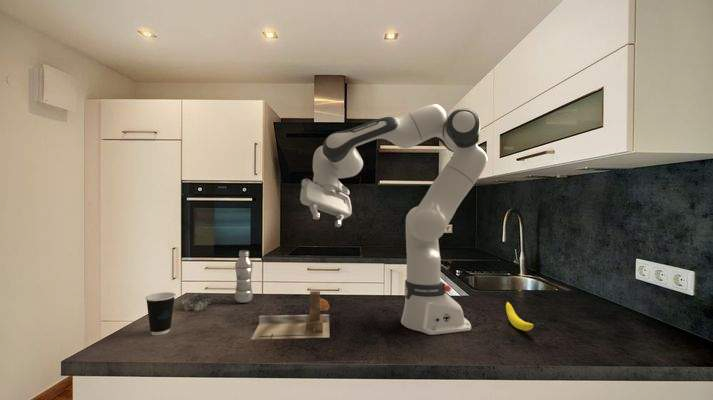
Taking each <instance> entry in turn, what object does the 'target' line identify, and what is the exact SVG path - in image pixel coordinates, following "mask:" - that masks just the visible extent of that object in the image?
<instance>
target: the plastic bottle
mask: <svg viewBox="0 0 713 400" xmlns="http://www.w3.org/2000/svg"><path fill="white" fill-rule="evenodd" d="M238 256H239V258H238V259H237V261H236V262H235V265H234V266H235V267H234V268H235V274H236V287H235V292H234V293H235V294H234V298H235V299H234V300H235V301H236V303H239V304H241V303H243V304H245V303H250V302H251V301H252V299H253V289H252V272H253V265H254V264H253V261H252V260H251V258H250V257H249V256H250V251H249V250H246V249H245V250H239V253H238Z"/></svg>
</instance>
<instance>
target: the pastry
mask: <svg viewBox="0 0 713 400" xmlns="http://www.w3.org/2000/svg"><path fill="white" fill-rule="evenodd" d="M329 309H330V304H329V302H328V300H327V299H324V298H321V297H320V312H326V311H328V310H329Z"/></svg>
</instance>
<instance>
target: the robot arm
mask: <svg viewBox="0 0 713 400" xmlns="http://www.w3.org/2000/svg"><path fill="white" fill-rule="evenodd" d="M446 112H447V111H445V109H444V108H443V107H442V106H441V105H439V104H437V103H432V104H429V105H425V106H422V107H420V108H417V109H414V110H412V111H410V112H408V113H406V114H404V115H401V116H395V117H392V116H385V117H380V118H378V119H374V120H372V121H369V122H365V123H364V124H361V125H358V126H355V127H352V128H350V129H345V130H339V131H336V132H333V133H331V134H328V136H327V137H326V138H325V139H324V142H323V144H322V145H320V146H318V148H316V150H315V151H314V154H313V158H312V172H313V177H312V180H311V179H309V178H308V177H307V178H303V179H302V180H301V189H300V197H299V201H300V203H301V204H302V205H304V206H307V207H309V211H310V212H311V214H312V219H313V220H316V221H317V220H320V218H321V213H320V212H318V210H319V211H321V212H324V213H327V214H329V215H332V216H335V217H336V219H337V220H336V221H334V226H335V227H337V228H340V227H342V223H343V222H342V221H343V220H345V219H347V218H349V217H351V215H352V214H353V212H352V209H353V208H352V203H351V202H352V201H351V198H350V197H349V195H350V190H349V189H348V188H347V187H346V186H344V184H343V183H341V181H340V180H339V179H348V178H352V177H355V176H357V175H359V173H361V171H362V170H363V167H364V159H362V156H361V154H360V153H359V151H358V149H357V148H356V147H358V146H362V145H364V144H366V143H370V142H372V141H375V140H377V139H378V140H379V139H381V140H382V139H383V140H387V141H388V142H390V143H392V145H393V144H394V145H395V146H396V147H398V148H401V149H409V148H413V147H416V146H417V145H420V144H422V143H424V142H425V141H429V140H430V139H432V138H437V140H438V141H439V142H440V144H442V145H443V147H445V148H446V149H447V150H448V151H450V152H452V155H451V158H450V159H449V160H448V162H447V163H446V165H445V166H444V167H443V169H441V171H440V173H438V175H437V177H436V178H435V179H434V181H433V182H432V184H431V185H430V187H429V189H428V190H427V192H426V194H425V195H424V197H423V198H422V200H421V201H420V203H419V204H418V205H417V206H414V207H413V208H411V209H410V210H409V211H408V213H407V214H406V218H405V243H406V244H405V248H406V279H405V281H404V297H405V301H404V305H403V306H404V307H403V313H402V316H401V320H400V323H401V325H403V326H404V327H405V328H408V329H410V330H413V331H417V332H421V333H424V334H427V335H432V336H433V335H441V334H451V333H459V332H468V331H471V330H472V324H471V323H470V321H469V320H468V319H467V318H465V317H464V311H463V309H462V305H460V304H459V303H458V302H457V301H456V300H455V299H453V297H451V296H450V295H449V294H448V293H449V292H451V291H452V287H451V286H450V285H449V284H447V283H444V282H442V281H441V265H442V264H441V261H442V260H441V252H440V244H439V239H440V238H442V236H443V235H444V234H445V230H446V229H447V227H448V225H449V224H450V222H451V220H453V219H452V218H453V217H454V215H455V213H456V211H457V209H458V207H460V205H461V203H462V202H463V200H464V199H465V197H466V196H467V195H468V193H469V192H470V191H471V189H472V188H473V187H474V186H475V183H477V181H478V179H479V178H480V176H481V174H482V173H483V171H484V169H485V166H486V165H487V163H488V156H487V153H486V151H484V150H483V149H482V147H480V146H478V143H479V141H480V133H481V132H480V131H481V120H480V117H479V115H478V113H477V112H475V110H473V109H471V108H469V107H461V108H457V109H455V110H453V111H452V112H451V113H450V114H447V113H446ZM446 292H448V293H446Z"/></svg>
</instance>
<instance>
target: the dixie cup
mask: <svg viewBox="0 0 713 400" xmlns="http://www.w3.org/2000/svg"><path fill="white" fill-rule="evenodd" d="M175 297H176V293H174V292H169V291H165V292H157V293H151V294H149V295H147V296H146V297H145V300H146V306H147V307H146V308H147V315H148V317H147V318H148V322H149V323H148V324H149V331H150V334H151V335H152V336H160V335H166V334H167V333H169V332H170V329H171V327H172V322H173V321H172V320H173V313H174V306H175V305H174V303H175Z"/></svg>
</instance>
